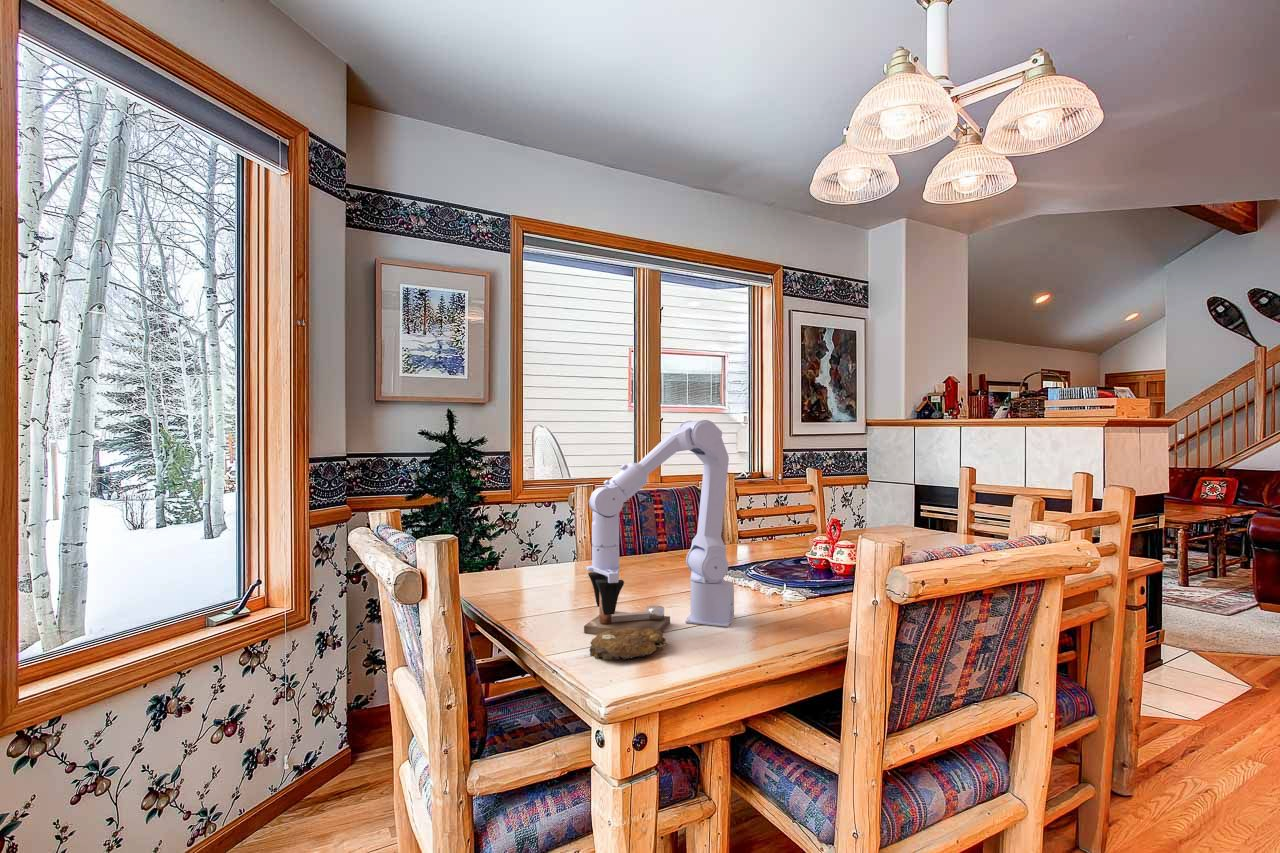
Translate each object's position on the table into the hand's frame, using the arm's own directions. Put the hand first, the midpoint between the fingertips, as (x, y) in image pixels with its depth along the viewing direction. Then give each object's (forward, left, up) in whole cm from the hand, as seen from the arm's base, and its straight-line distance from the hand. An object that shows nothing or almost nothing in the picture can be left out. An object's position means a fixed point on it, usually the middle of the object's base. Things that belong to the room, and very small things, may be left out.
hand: (605, 610), depth 129 cm
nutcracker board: (-4, -3, -4) cm, 6 cm away
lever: (-5, -3, -2) cm, 6 cm away
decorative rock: (-9, +10, -5) cm, 14 cm away
